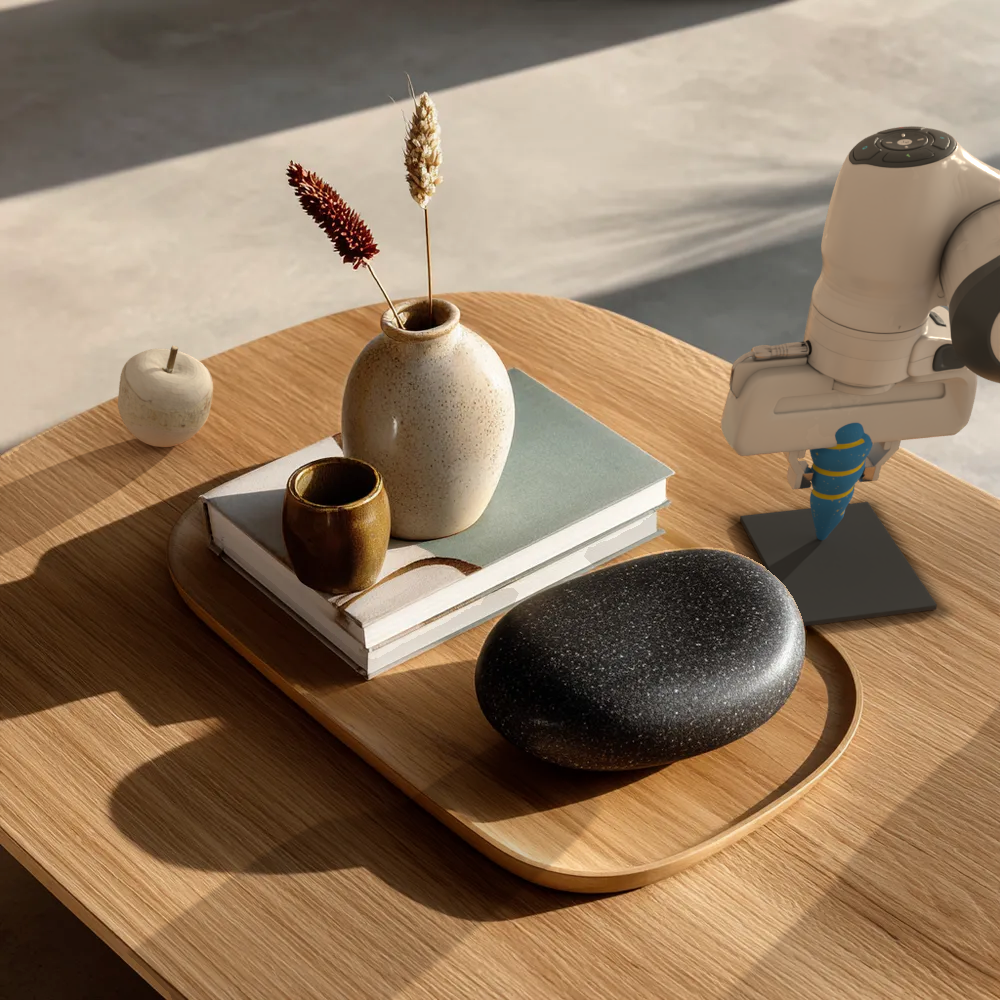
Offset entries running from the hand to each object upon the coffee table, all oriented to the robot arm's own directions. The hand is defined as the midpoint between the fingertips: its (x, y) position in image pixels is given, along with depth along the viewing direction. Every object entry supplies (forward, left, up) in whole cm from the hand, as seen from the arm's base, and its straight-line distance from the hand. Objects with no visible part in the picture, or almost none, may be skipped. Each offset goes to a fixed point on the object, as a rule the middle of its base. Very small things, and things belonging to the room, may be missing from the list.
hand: (832, 481), depth 111 cm
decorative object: (+55, -25, -7) cm, 61 cm away
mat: (0, +3, -7) cm, 7 cm away
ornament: (0, 0, -6) cm, 6 cm away
